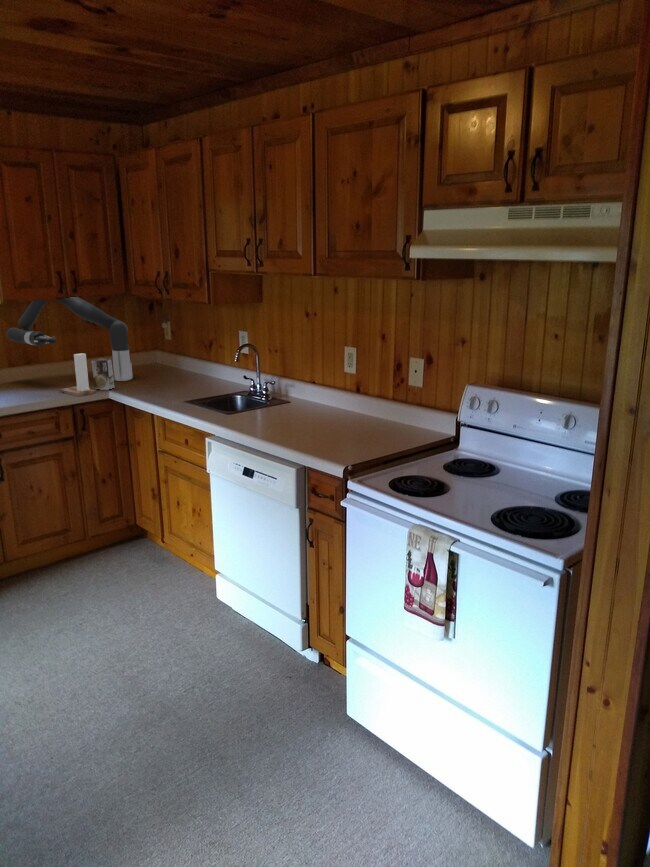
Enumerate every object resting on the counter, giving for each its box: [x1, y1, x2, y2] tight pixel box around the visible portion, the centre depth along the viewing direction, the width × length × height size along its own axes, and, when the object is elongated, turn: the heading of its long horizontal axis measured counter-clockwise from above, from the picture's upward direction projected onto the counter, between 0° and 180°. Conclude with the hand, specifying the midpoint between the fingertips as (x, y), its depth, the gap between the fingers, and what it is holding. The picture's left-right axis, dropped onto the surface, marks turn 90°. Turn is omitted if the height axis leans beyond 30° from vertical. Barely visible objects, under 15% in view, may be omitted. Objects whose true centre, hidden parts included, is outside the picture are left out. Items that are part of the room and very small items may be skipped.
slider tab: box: [73, 352, 91, 392], centre depth 341 cm, size 5×4×19 cm
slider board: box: [58, 385, 97, 397], centre depth 347 cm, size 10×17×2 cm, turn 56°
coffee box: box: [91, 358, 116, 391], centre depth 354 cm, size 9×6×16 cm
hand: (54, 341), depth 348 cm, fingers closed
